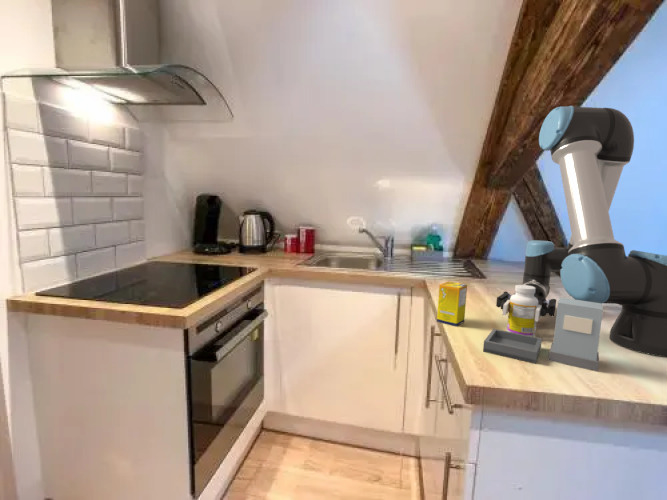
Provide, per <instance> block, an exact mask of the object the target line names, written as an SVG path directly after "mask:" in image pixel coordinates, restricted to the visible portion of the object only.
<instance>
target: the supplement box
mask: <svg viewBox="0 0 667 500" xmlns="http://www.w3.org/2000/svg"><path fill="white" fill-rule="evenodd" d="M467 290H468V284H465V283H459V282H455V281H446V282H443V283H440V284H439V288H438V301H437V314H436V322H437V323H441V324H446V325H448V326H453V327H458V326H460V325H461V324H463V323H465V316H466V314H465V313H466V304H467V303H466V302H467Z"/></svg>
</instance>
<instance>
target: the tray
mask: <svg viewBox="0 0 667 500" xmlns="http://www.w3.org/2000/svg"><path fill="white" fill-rule="evenodd" d="M542 341H543V338H542V337H537V336H534V337H532V336H527V335H523V334H518V333H513V332H508V331H507V330H502V329H496V328H493V329H492V330H491V331H490V333H488V335H487V337H486V338H485V339H484V341H483V349H482V351H483V352H484V353H488V354H491V355H497V356H501V357H506V358H510V359H514V360H518V361H523V362H526V363H530V364H535V365H536V364H537V361H538V358H539V356H540V352H541V349H542Z"/></svg>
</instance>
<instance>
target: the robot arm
mask: <svg viewBox="0 0 667 500" xmlns="http://www.w3.org/2000/svg"><path fill="white" fill-rule="evenodd" d="M538 144H539V147H540V149H542V150H544V151H546V152H548V151H550V155H551V160H552V161H553V163H555V164H557V165H559V170H560V174H561V182H562V185H563V191H564V192H563V193H564V197H565V198H564V199H565V204H566V205H565V206H566V209H567V215H568V221H569V226H570V233H571V234H570V236H569V237H570V238H569V241H568V244H567V247H555V244H554V242H553V241H550V240H549V241H548V240H538V239H537V240H535V239H534V240H532V239H531V240H529V241H528V242H527V244H526V248H525V253H524V254H525V258H524V270H523V271H524V272H523V276H522V277H523V278H522V285H528V286H533V287H535V288H536V289H535V294H534V297H536V298H537V299H538V307H537V309H536V312H535V321H536V322H539V321H540V318H541V317H546V316H547V315H548V316H550V317H555V312H556V309H557V299H556V298H551V299H549V298H548V299H547V297H548V295H550V292H551V291H550V290H551V286H550V282H551V277H552V276H551V273H552V272H560V275H559V276H560V280H561V283H562V285H563V286H562V287H563V288H564V291H566V293H567V294H568V295H569V296H570V297H572V299H575V300H582V301H588V302H595V303H602V304H615V305H616V304H617V305H621V304H622V305H621V306H622V307H621V310H620V313H618V316H617V318H616V320H615V321H614V323H613V325H612V326H611V327H610V331H609V335H608V337H609V340H610V342H612V343H614V344H617V345H618V346H620V347H623V348H625V349H628V350H631V351H635V352H639V353H642V352H643V354H647V353H649V354H648V355H652V354H654V355H653V356H657V355H661V356H660V357H667V255H665V254H658V253H652V252H646V251H640V250H633V249H632V250H631V251H629V253H628V254H627V255H626V250H625V246H624V244H623V243H622V242H619V241H618V240H616V239H615V236H614V231H613V226H612V222H611V217H610V213H609V212H610V209H611V207H612V206H611V205H612V203H613V199H614V197H615V194H616V190H617V187H618V184H619V181H620V178H621V176H622V172H623V169H624V167H625V166H626V165H628V164H629V163H630V161H631V158H632V156H633V153H634V148H635V134H634V129H633V125H632V123H631V121H630V120H629V118H628V117H627V116H626V114H624V113H623V112H622V111H620V110H618V109H616V108H611V107H588V106H587V107H586V106H573V105H569V106H557V107H555V108H553V109H552V110H551V111H549V113H548V114H547V115H546V117H545V118H544V120H543V122H542V124H541V127H540V131H539V136H538ZM514 294H516V292H515V293H513V294H511V293H510V292H508V291H503V292H502V294H500V295H499V296H497V297H496V302H495V304H496V305H495V306H496V307H497V308H500V309H501V310H502V313H501V314H502V316H505V317H506V316H508V315H507V314H509V304H510V297H511V296H512V295H514Z"/></svg>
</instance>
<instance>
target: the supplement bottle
mask: <svg viewBox="0 0 667 500" xmlns="http://www.w3.org/2000/svg"><path fill="white" fill-rule="evenodd" d="M535 289H536V288H535V287H533V286H528V285H523V284H515V288H514V290H515V293H516V294H515V293H513V294H514V295H513V294H511V295H512V296H511V297H510V304H509V312H508V313H507V314H508V315H507V317H508V318H507V326H506V328H507V329H506V331H508V332H513V333H518V334H523V335H527V336H532V337H536V329H537V321H535V312H536V309H537V307H538V299H537V298H536V297H534V294H535Z"/></svg>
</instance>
